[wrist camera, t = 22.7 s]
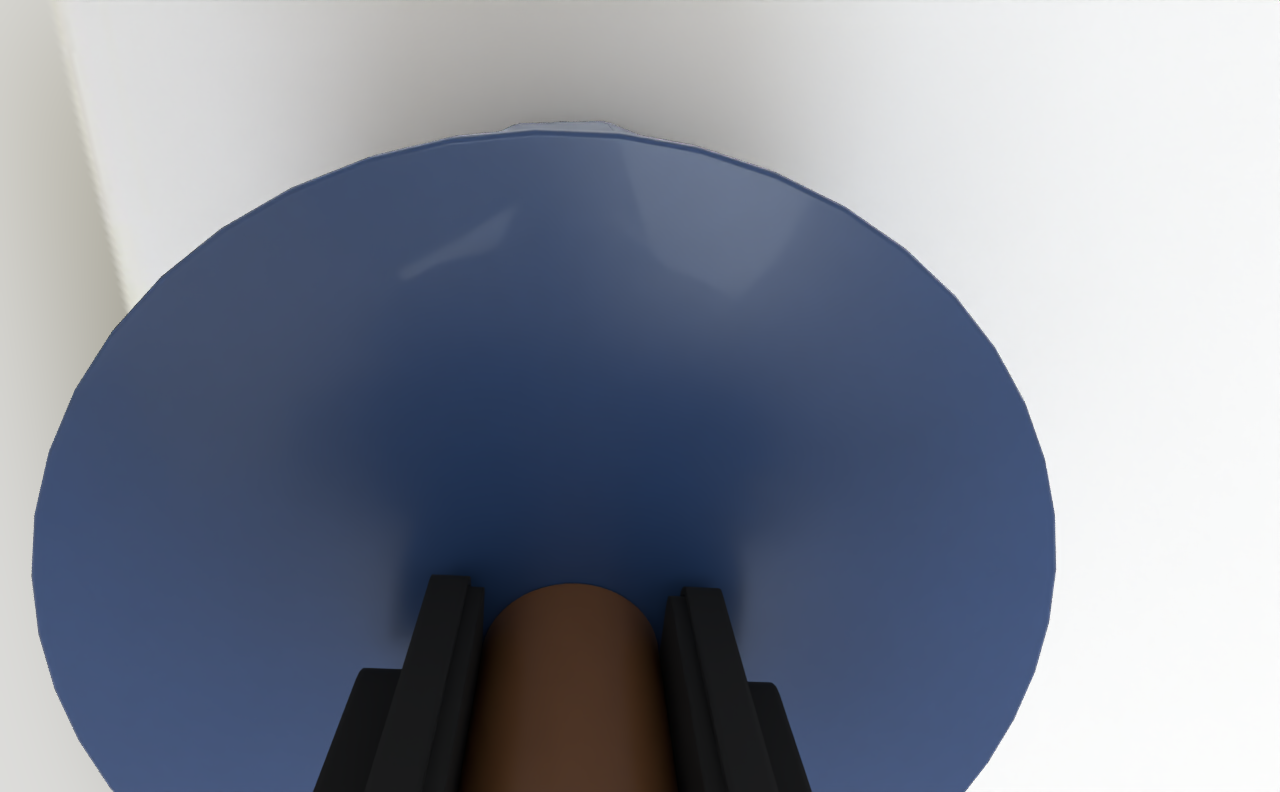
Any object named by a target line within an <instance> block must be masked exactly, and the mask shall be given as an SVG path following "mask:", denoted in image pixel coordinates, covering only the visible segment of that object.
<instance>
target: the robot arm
mask: <svg viewBox="0 0 1280 792" xmlns="http://www.w3.org/2000/svg"><path fill="white" fill-rule="evenodd" d="M484 597H485V588H484V587H472V586H471V577H470V576H458V575H437V574H432V575H431V577H430V579H429V582H428V586H427V589H426V592H425V595H424V599H423V602H422V605H421V608H420V612H419V615H418V618H417V621H416V625H415V628H414V631H413V634H412V638H411V641H410V644H409V648H408V651H407V654H406V657H405V661H404V664H403V667H402V669H385V668H362V669H361V670H360V671H359V673H358V676H357V678H356V680H355V682H354V685H353V688H352V690H351V693H350V696H349V698H348V701H347V703H346V706H345V709H344V711H343V714H342V717H341V719H340V722H339V724H338V727H337V730H336V732H335V735H334V738H333V740H332V743H331V745H330V748H329V751H328V753H327V756H326V759H325V761H324V764H323V767H322V769H321V772H320V774H319V777H318V780H317V782H316V785H315V788H314V790H313V792H458V789H459V783H460V778H461V772H462V766H463V760H464V755H465V749H466V743H467V737H468V731H469V726H470V720H471V714H472V708H473V703H474V697H475V691H476V685H477V679H478V674H479V668H480V662H481V656H482V643H483V620H484ZM659 659H660V666H661V673H662V680H663V687H664V694H665V701H666V708H667V715H668V722H669V729H670V736H671V743H672V751H673V758H674V765H675V772H676V779H677V786H678V792H812V790H811V787H810V784H809V781H808V778H807V775H806V772H805V769H804V766H803V763H802V760H801V757H800V754H799V751H798V748H797V745H796V742H795V739H794V736H793V733H792V730H791V727H790V724H789V721H788V718H787V715H786V712H785V709H784V706H783V703H782V700H781V697H780V694H779V692H778V689H777V687H776V686H775V685H774V684H773V683H772V682H749V681H747V678H746V675H745V671H744V667H743V664H742V660H741V657H740V653H739V650H738V646H737V643H736V639H735V636H734V632H733V629H732V625H731V622H730V618H729V614H728V611H727V607H726V604H725V600H724V597H723V593H722V591H721V589H719V588H705V587H685V586H684V587H683V588H682V590H681V593H680V596H669V597H668V599H667V604H666V610H665V617H664V624H663V631H662V638H661V645H660V652H659Z"/></svg>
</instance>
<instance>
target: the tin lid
mask: <svg viewBox="0 0 1280 792" xmlns="http://www.w3.org/2000/svg"><path fill="white" fill-rule="evenodd" d="M1055 573H1056V547H1055V513H1054V508H1053V502H1052V497H1051V491H1050V485H1049V480H1048V474H1047V469H1046V463H1045V458H1044V455H1043V452H1042V450H1041V447H1040V444H1039V441H1038V438H1037V435H1036V432H1035V430H1034V427H1033V424H1032V421H1031V418H1030V415H1029V413H1028V410H1027V407H1026V404H1025V401H1024V400H1023V398H1022V396H1021V394H1020V392H1019V390H1018V389H1017V387H1016V385H1015V383H1014V381H1013V379H1012V378H1011V376H1010V374H1009V372H1008V370H1007V368H1006V367H1005V365H1004V363H1003V361H1002V359H1001V357H1000V355H999V354H998V352H997V350H996V348H995V347H994V345H993V344H992V343H991V342H990V340H989V339H988V338H987V336H986V335H985V334H984V332H983V331H982V330H981V329H980V327H979V326H978V325H977V323H976V322H975V321H974V319H973V318H972V317H971V316H970V314H969V313H968V312H967V310H966V309H965V308H964V306H963V305H962V304H961V303H960V301H959V300H958V299H957V297H956V296H955V295H954V294H953V293H952V292H951V291H950V290H949V289H947V288H946V287H945V286H944V285H943V284H942V283H941V282H940V281H939V280H938V279H937V278H936V277H935V276H934V275H933V274H932V273H931V272H930V271H928V270H927V269H926V268H925V267H924V266H923V265H922V264H921V263H920V262H919V261H918V260H917V259H916V258H915V257H914V256H913V255H912V254H911V253H910V252H908V251H907V250H906V249H905V248H904V247H902V246H901V245H900V244H898V243H897V242H895V241H894V240H892V239H891V238H889V237H888V236H887V235H885V234H884V233H882V232H881V231H879V230H878V229H877V228H875V227H874V226H872V225H871V224H869V223H868V222H866V221H865V220H864V219H862V218H861V217H859V216H858V215H856V214H855V213H854V212H852V211H851V210H849V209H848V208H846V207H845V206H843V205H841V204H839V203H837V202H835V201H833V200H831V199H829V198H827V197H825V196H823V195H820V194H818V193H816V192H814V191H812V190H810V189H808V188H806V187H804V186H802V185H800V184H798V183H796V182H794V181H792V180H790V179H788V178H786V177H784V176H782V175H780V174H778V173H776V172H774V171H771V170H769V169H766V168H763V167H760V166H757V165H754V164H751V163H748V162H745V161H742V160H739V159H736V158H733V157H730V156H727V155H723V154H720V153H717V152H714V151H711V150H708V149H705V148H702V147H699V146H696V145H691V144H686V143H680V142H675V141H669V140H664V139H658V138H653V137H647V136H642V135H636V134H631V133H625V132H620V131H603V130H579V129H555V128H529V129H519V130H508V131H498V132H488V133H477V134H467V135H457V136H452V137H448V138H444V139H440V140H435V141H431V142H427V143H423V144H419V145H415V146H410V147H406V148H402V149H398V150H394V151H390V152H385V153H381V154H377V155H374V156H371V157H368V158H365V159H363V160H360V161H358V162H355V163H353V164H350V165H347V166H345V167H342V168H340V169H337V170H335V171H332V172H330V173H327V174H325V175H322V176H320V177H317V178H315V179H312V180H310V181H307V182H305V183H302V184H300V185H297V186H295V187H292V188H290V189H288V190H287V191H285V192H283V193H281V194H280V195H278V196H276V197H274V198H273V199H271V200H269V201H268V202H266V203H264V204H262V205H261V206H259V207H257V208H255V209H254V210H252V211H250V212H249V213H247V214H245V215H243V216H242V217H240V218H238V219H236V220H235V221H233V222H231V223H230V224H228V225H226V226H224V227H223V228H221V229H220V230H219V231H217V232H216V233H215V234H214V235H212V236H211V237H210V238H209V239H207V240H206V241H205V242H204V243H202V244H201V245H200V246H199V247H197V248H196V249H195V250H194V251H192V252H191V253H190V254H189V255H188V256H186V257H185V258H184V259H183V260H181V261H180V262H179V263H178V264H176V265H175V266H174V267H173V268H171V269H170V270H169V271H168V272H166V273H165V274H164V275H163V276H161V278H160V279H159V280H158V281H157V282H156V283H155V284H154V285H153V286H152V288H151V289H150V290H149V291H148V292H147V293H146V294H145V295H144V296H143V298H142V299H141V300H140V301H139V302H138V303H137V304H136V305H135V306H134V308H133V309H132V310H131V311H130V312H129V313H128V314H127V315H126V316H125V318H124V319H123V320H122V321H121V322H120V323H119V324H118V325H117V326H116V327H115V329H114V330H113V331H112V332H111V334H110V335H109V337H108V339H107V340H106V342H105V343H104V345H103V346H102V348H101V350H100V351H99V353H98V354H97V356H96V357H95V359H94V361H93V362H92V364H91V365H90V367H89V369H88V370H87V372H86V373H85V375H84V376H83V378H82V379H81V381H80V383H79V384H78V386H77V388H76V389H75V391H74V393H73V396H72V398H71V400H70V403H69V405H68V408H67V410H66V412H65V415H64V417H63V420H62V422H61V424H60V427H59V429H58V431H57V434H56V436H55V438H54V441H53V443H52V446H51V448H50V450H49V454H48V458H47V462H46V467H45V471H44V476H43V480H42V485H41V489H40V493H39V497H38V502H37V507H36V511H35V516H34V537H33V556H32V582H33V591H34V600H35V608H36V617H37V624H38V633H39V637H40V640H41V644H42V647H43V651H44V654H45V658H46V661H47V664H48V668H49V671H50V675H51V678H52V682H53V685H54V688H55V691H56V693H57V695H58V697H59V699H60V701H61V704H62V706H63V708H64V710H65V712H66V714H67V716H68V719H69V721H70V723H71V725H72V727H73V729H74V731H75V733H76V736H77V737H78V740H79V741H80V743H81V745H82V746H83V748H84V749H85V751H86V752H87V753H88V755H89V757H90V758H91V760H92V761H93V763H94V764H95V766H96V767H97V769H98V770H99V772H100V773H101V775H102V776H103V778H104V779H105V781H106V782H107V784H108V786H109V787H110V788H111V789H112V790H113V792H313V790H314V788H315V785H316V782H317V780H318V777H319V774H320V772H321V769H322V767H323V764H324V761H325V759H326V756H327V753H328V751H329V748H330V745H331V743H332V740H333V738H334V735H335V732H336V730H337V727H338V724H339V722H340V719H341V717H342V714H343V711H344V709H345V706H346V703H347V701H348V698H349V696H350V693H351V690H352V688H353V685H354V682H355V680H356V678H357V676H358V673H359V671H360V670H361V669H362V668H385V669H402V667H403V664H404V661H405V657H406V654H407V651H408V648H409V644H410V641H411V638H412V634H413V631H414V628H415V625H416V621H417V618H418V615H419V612H420V608H421V605H422V602H423V599H424V595H425V592H426V589H427V586H428V582H429V579H430V577H431V575H432V574H437V575H458V576H470V577H471V586H472V587H484V588H485V597H484V620H483V643H482V656H481V662H480V668H479V674H478V679H477V685H476V691H475V697H474V703H473V708H472V714H471V720H470V726H469V731H468V737H467V743H466V749H465V755H464V760H463V766H462V772H461V778H460V783H459V789H458V792H678V786H677V779H676V772H675V765H674V758H673V751H672V743H671V736H670V729H669V722H668V715H667V708H666V701H665V694H664V687H663V680H662V673H661V666H660V659H659V652H660V645H661V638H662V631H663V624H664V617H665V610H666V604H667V599H668V597H669V596H680V593H681V590H682V588H683V587H684V586H685V587H705V588H719V589H721V591H722V593H723V597H724V600H725V604H726V607H727V611H728V614H729V618H730V622H731V625H732V629H733V632H734V636H735V639H736V643H737V646H738V650H739V653H740V657H741V660H742V664H743V667H744V671H745V675H746V678H747V681H749V682H772V683H773V684H774V685H775V686H776V687H777V689H778V692H779V694H780V697H781V700H782V703H783V706H784V709H785V712H786V715H787V718H788V721H789V724H790V727H791V730H792V733H793V736H794V739H795V742H796V745H797V748H798V751H799V754H800V757H801V760H802V763H803V766H804V769H805V772H806V775H807V778H808V781H809V784H810V787H811V790H812V792H965V791H966V790H967V789H968V787H969V786H970V785H971V784H972V782H973V781H974V780H975V779H976V777H977V776H978V775H979V773H980V772H981V771H982V770H983V768H984V767H985V766H986V764H987V763H988V762H989V760H990V758H991V757H992V755H993V753H994V752H995V750H996V748H997V747H998V745H999V743H1000V742H1001V740H1002V738H1003V737H1004V735H1005V733H1006V732H1007V730H1008V729H1009V727H1010V725H1011V724H1012V722H1013V720H1014V718H1015V716H1016V714H1017V712H1018V709H1019V707H1020V705H1021V702H1022V700H1023V698H1024V696H1025V693H1026V691H1027V689H1028V686H1029V684H1030V682H1031V680H1032V677H1033V675H1034V673H1035V670H1036V666H1037V663H1038V659H1039V656H1040V652H1041V649H1042V645H1043V642H1044V638H1045V634H1046V631H1047V627H1048V624H1049V618H1050V611H1051V603H1052V596H1053V588H1054V581H1055Z"/></svg>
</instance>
